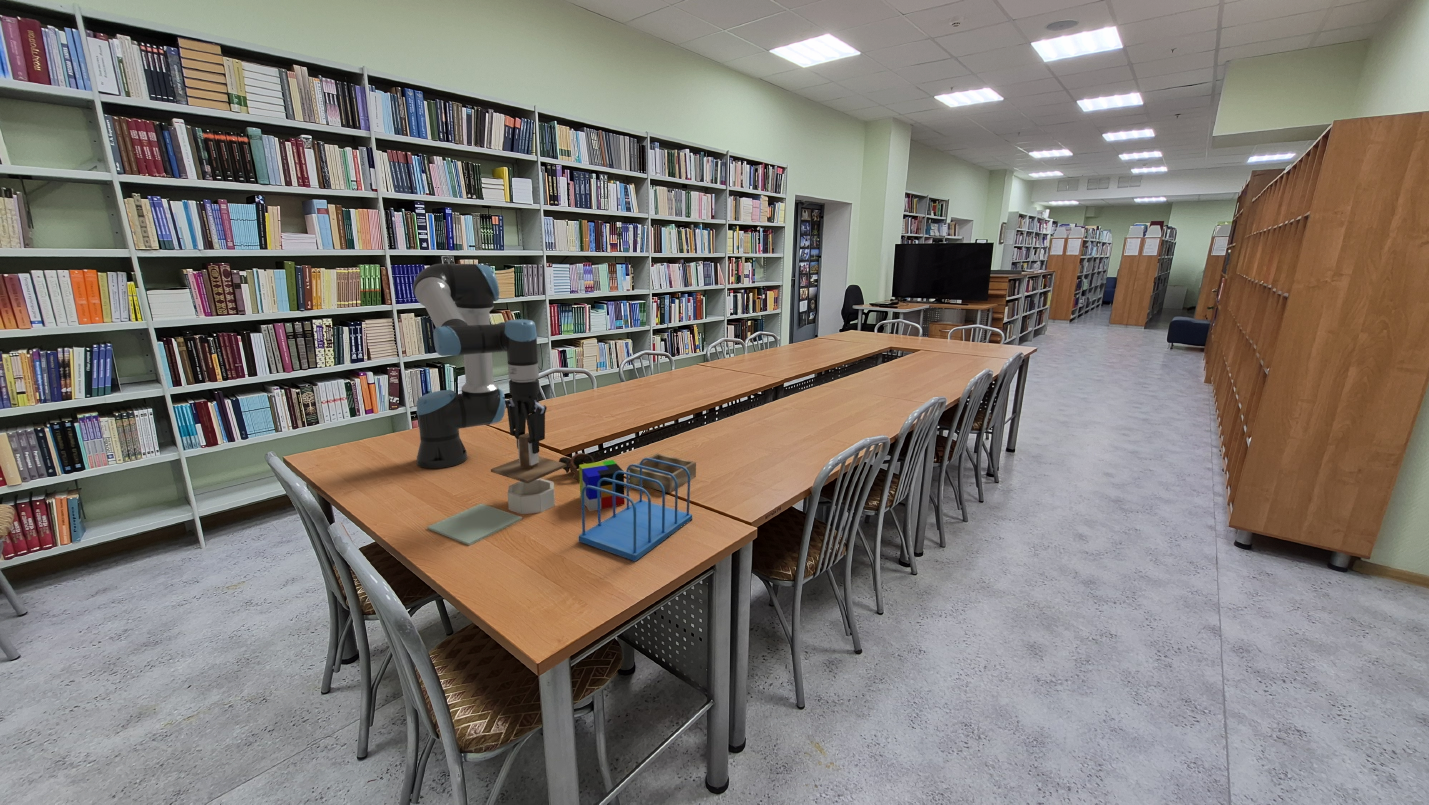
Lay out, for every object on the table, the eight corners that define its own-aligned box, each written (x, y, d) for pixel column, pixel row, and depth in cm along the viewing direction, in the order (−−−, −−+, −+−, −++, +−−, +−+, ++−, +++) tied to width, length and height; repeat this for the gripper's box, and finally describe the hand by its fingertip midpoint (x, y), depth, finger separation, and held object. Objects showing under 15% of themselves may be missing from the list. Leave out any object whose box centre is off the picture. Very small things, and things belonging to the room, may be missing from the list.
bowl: (500, 506, 149) (498, 490, 148) (533, 491, 159) (532, 476, 158) (530, 517, 143) (529, 500, 142) (563, 501, 153) (562, 484, 152)
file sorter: (635, 563, 123) (634, 500, 119) (578, 543, 131) (575, 484, 127) (692, 520, 144) (693, 466, 140) (640, 505, 152) (639, 454, 148)
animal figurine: (596, 470, 178) (600, 453, 173) (589, 492, 171) (592, 475, 166) (560, 461, 177) (563, 444, 172) (551, 483, 170) (554, 466, 164)
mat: (427, 528, 136) (427, 526, 136) (481, 505, 150) (481, 503, 149) (469, 545, 128) (469, 543, 128) (522, 519, 142) (522, 517, 142)
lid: (491, 471, 146) (488, 437, 144) (531, 456, 158) (529, 424, 156) (527, 483, 140) (525, 447, 137) (566, 466, 152) (565, 433, 149)
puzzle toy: (589, 511, 148) (588, 477, 145) (580, 497, 156) (579, 464, 154) (624, 504, 152) (623, 471, 150) (613, 491, 161) (613, 459, 158)
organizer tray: (629, 482, 167) (629, 467, 166) (657, 467, 180) (657, 453, 179) (669, 493, 160) (669, 477, 159) (695, 476, 173) (696, 462, 172)
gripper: (491, 377, 143) (497, 460, 149) (535, 386, 135) (540, 473, 142) (513, 372, 149) (519, 452, 155) (557, 380, 142) (560, 464, 148)
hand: (529, 462), depth 148 cm, fingers closed on lid, 3 cm apart
